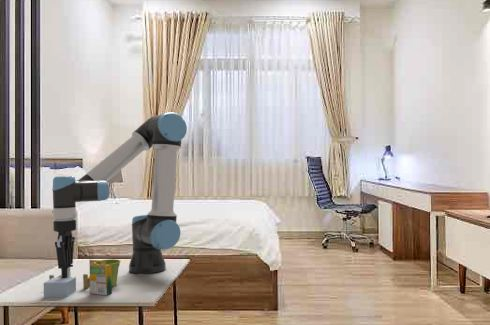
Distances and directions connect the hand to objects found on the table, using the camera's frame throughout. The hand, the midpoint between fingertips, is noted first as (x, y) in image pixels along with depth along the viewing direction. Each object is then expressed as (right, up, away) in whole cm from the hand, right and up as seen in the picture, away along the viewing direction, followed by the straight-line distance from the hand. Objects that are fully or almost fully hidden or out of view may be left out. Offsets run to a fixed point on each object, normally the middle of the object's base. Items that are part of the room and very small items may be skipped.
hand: (66, 286), depth 174 cm
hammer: (0, -2, +9) cm, 9 cm away
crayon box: (+14, -1, -6) cm, 15 cm away
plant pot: (+13, -1, +6) cm, 15 cm away
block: (0, -2, -5) cm, 5 cm away
